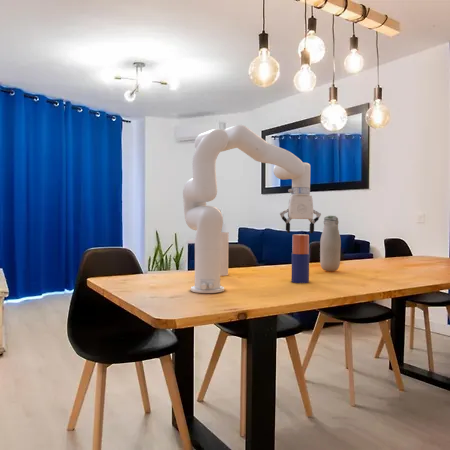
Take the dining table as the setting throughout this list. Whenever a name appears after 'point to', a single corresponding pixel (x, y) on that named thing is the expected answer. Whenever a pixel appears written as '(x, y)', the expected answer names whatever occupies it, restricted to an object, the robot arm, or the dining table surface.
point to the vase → (224, 254)
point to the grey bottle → (330, 244)
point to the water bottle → (300, 268)
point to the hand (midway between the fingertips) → (299, 232)
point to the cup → (300, 244)
